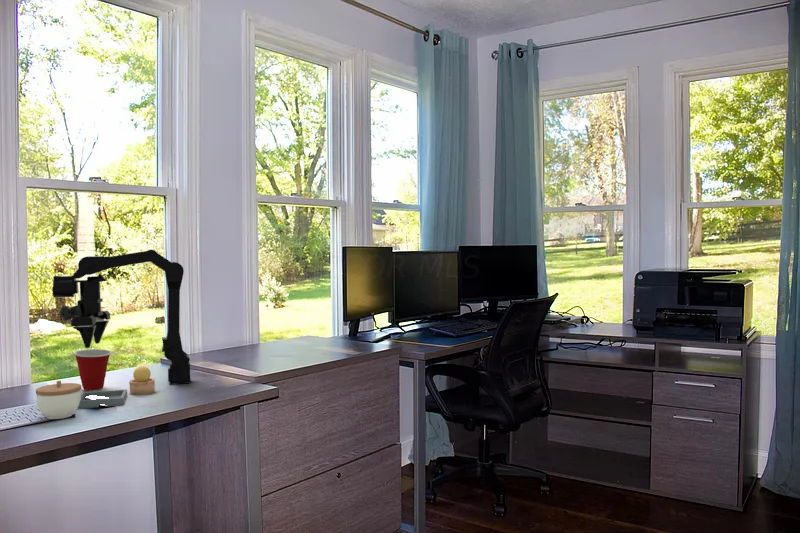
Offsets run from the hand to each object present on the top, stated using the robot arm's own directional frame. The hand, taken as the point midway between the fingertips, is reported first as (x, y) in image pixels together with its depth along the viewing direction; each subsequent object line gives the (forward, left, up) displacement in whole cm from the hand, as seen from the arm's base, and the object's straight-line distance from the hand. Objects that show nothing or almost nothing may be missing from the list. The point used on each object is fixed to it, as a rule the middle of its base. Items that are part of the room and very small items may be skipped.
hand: (92, 345), depth 202 cm
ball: (-15, +10, -11) cm, 21 cm away
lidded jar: (+4, +33, -14) cm, 36 cm away
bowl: (-15, +10, -14) cm, 23 cm away
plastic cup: (0, -1, -14) cm, 14 cm away
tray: (-5, +20, -14) cm, 25 cm away
